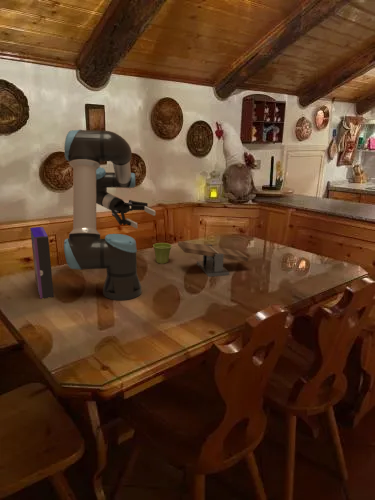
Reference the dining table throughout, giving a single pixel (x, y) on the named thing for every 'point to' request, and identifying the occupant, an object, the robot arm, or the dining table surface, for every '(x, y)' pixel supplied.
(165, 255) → the plant pot
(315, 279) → the dining table surface
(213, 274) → the beam stand
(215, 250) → the balance beam
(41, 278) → the cereal box
